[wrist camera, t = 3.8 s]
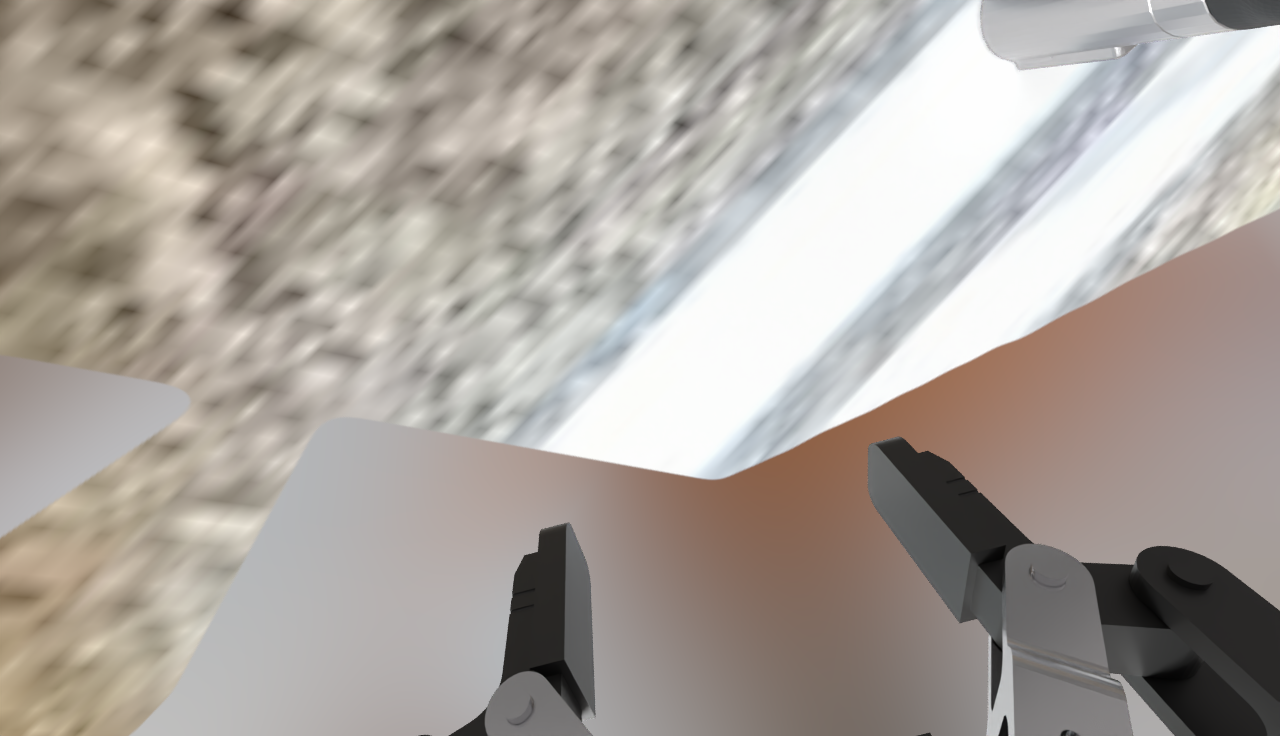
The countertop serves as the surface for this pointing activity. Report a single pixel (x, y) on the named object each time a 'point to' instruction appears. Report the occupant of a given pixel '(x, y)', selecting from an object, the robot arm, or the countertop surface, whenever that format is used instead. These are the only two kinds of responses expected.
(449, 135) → the countertop surface
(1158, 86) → the countertop surface
